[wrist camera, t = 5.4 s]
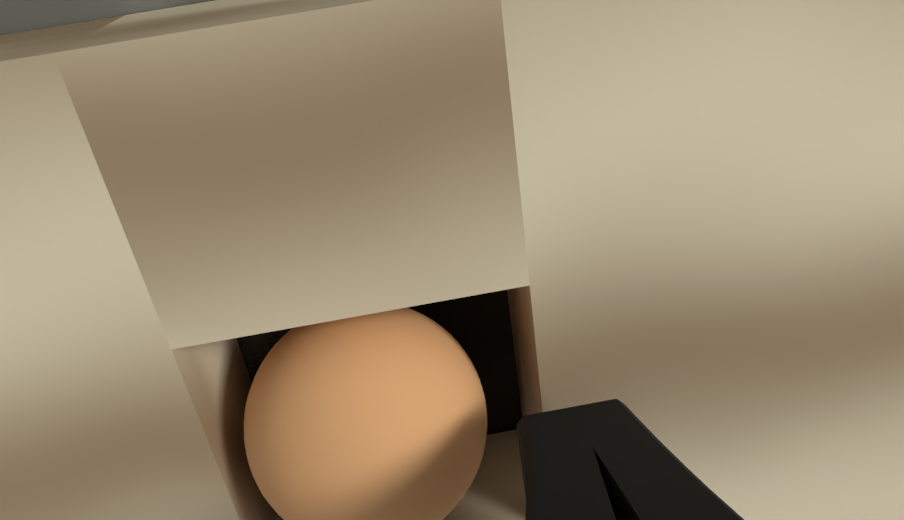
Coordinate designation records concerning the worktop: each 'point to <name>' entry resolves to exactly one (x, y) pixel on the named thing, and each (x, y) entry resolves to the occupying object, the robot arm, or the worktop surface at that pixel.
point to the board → (457, 233)
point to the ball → (366, 420)
